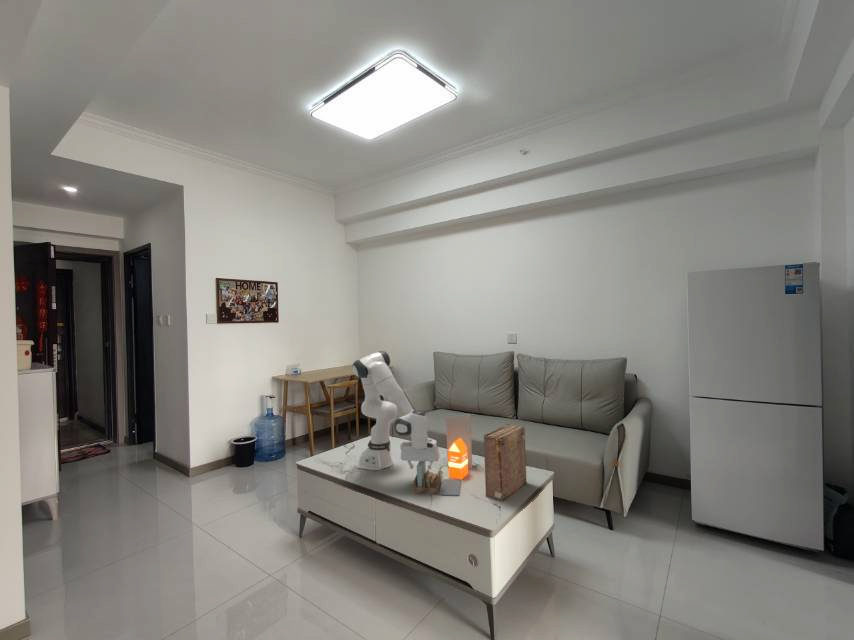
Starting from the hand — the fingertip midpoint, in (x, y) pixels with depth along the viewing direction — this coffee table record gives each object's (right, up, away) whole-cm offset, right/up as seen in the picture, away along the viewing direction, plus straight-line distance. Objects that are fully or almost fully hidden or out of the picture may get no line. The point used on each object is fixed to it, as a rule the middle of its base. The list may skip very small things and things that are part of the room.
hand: (420, 468), depth 204 cm
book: (+44, -8, -6) cm, 45 cm away
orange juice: (+21, -9, +13) cm, 26 cm away
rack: (+4, -10, 0) cm, 10 cm away
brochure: (+23, -9, +26) cm, 36 cm away
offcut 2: (+7, -10, -1) cm, 12 cm away
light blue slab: (+1, -10, 0) cm, 10 cm away
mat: (+16, -9, -2) cm, 18 cm away
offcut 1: (+5, -10, 0) cm, 11 cm away
